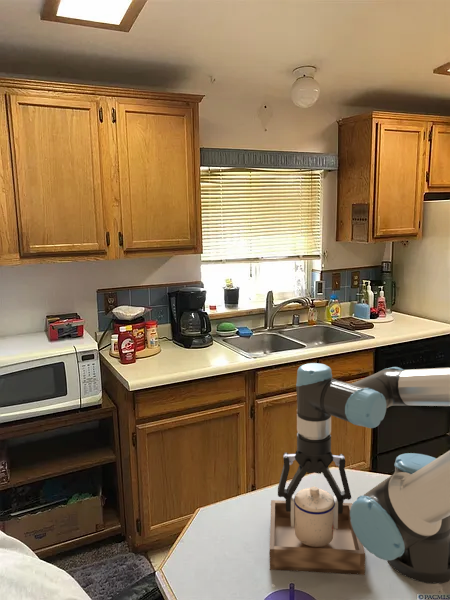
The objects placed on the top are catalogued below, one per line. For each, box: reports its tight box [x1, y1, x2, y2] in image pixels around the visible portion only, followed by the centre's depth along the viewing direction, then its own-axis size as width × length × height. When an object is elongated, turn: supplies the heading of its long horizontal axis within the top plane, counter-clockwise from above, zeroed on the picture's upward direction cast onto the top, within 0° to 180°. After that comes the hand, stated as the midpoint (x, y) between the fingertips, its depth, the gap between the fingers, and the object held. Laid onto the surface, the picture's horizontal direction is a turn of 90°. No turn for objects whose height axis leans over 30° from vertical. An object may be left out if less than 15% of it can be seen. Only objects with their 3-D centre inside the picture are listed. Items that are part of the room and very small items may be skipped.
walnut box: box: [269, 499, 366, 576], centre depth 109 cm, size 20×18×5 cm
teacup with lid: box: [294, 486, 335, 547], centre depth 108 cm, size 12×9×12 cm
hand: (313, 524), depth 109 cm, fingers closed on teacup with lid, 9 cm apart
